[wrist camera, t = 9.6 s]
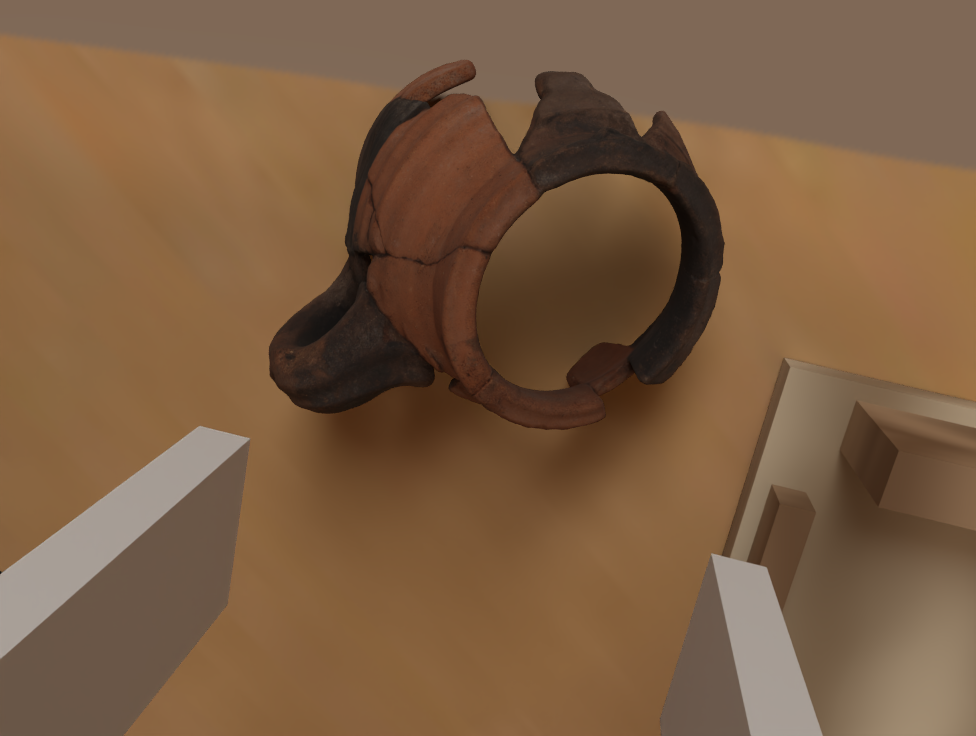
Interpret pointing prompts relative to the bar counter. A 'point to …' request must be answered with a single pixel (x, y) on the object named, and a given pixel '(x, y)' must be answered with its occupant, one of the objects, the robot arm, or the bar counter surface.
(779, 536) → the board
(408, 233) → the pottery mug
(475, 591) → the bar counter surface
